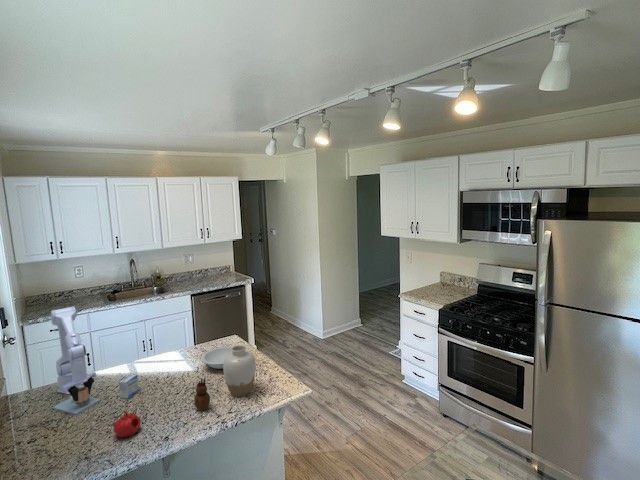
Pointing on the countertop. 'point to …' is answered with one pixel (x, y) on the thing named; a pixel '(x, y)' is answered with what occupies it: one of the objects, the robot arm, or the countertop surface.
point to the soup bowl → (216, 356)
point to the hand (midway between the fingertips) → (81, 397)
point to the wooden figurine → (201, 396)
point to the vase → (239, 371)
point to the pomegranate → (127, 425)
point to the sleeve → (82, 396)
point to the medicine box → (129, 386)
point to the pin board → (75, 405)
